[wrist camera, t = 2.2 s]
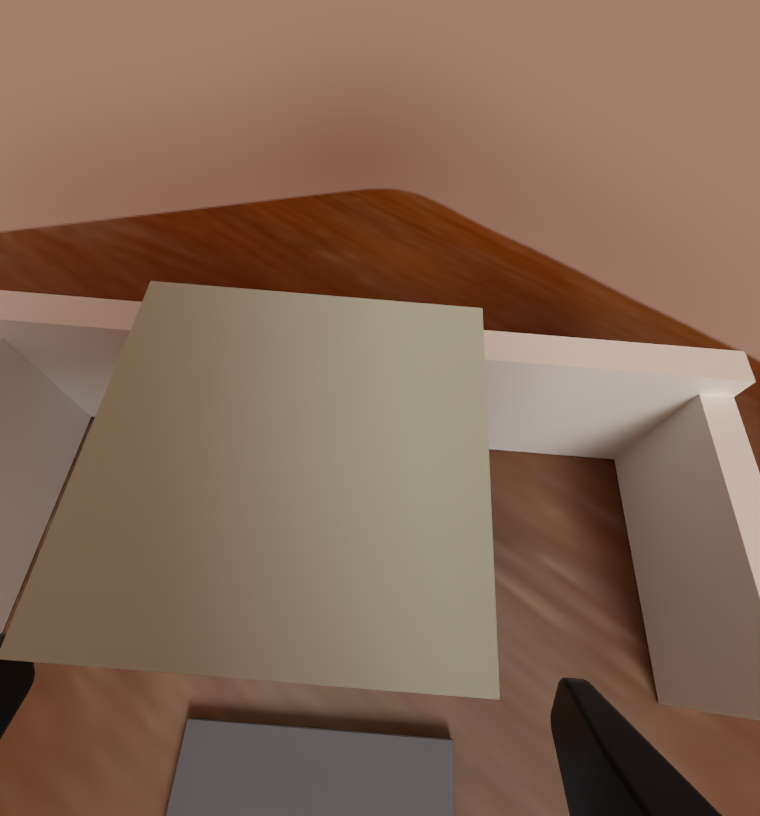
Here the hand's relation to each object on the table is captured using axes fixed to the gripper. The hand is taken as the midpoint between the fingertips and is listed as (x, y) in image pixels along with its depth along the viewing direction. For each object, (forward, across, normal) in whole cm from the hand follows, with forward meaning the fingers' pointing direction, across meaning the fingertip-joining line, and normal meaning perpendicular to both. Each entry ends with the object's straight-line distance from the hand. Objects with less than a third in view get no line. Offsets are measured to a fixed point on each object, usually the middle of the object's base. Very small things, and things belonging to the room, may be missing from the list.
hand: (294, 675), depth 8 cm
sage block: (+9, 0, +6) cm, 11 cm away
